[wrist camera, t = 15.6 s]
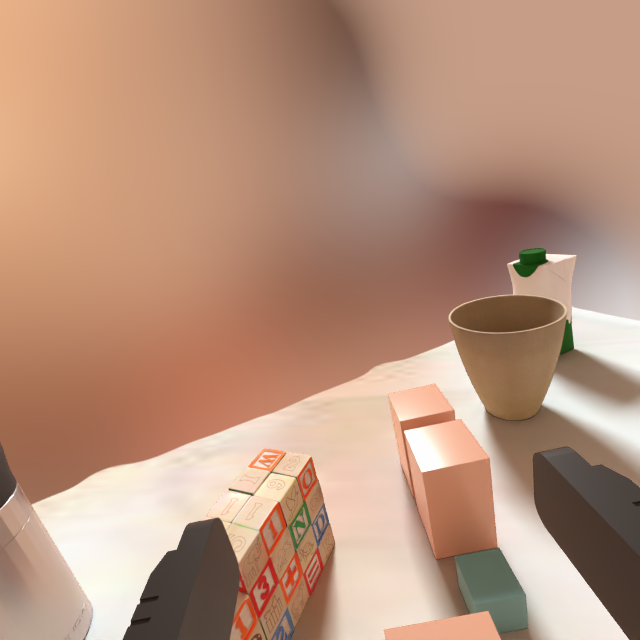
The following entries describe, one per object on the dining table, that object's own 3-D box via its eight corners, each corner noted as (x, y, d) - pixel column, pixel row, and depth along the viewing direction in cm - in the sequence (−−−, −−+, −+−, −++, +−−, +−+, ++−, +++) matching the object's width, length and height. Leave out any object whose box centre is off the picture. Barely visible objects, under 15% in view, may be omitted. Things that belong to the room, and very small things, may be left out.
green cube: (479, 637, 29) (474, 604, 28) (459, 587, 33) (454, 556, 31) (527, 628, 29) (525, 594, 27) (501, 579, 32) (499, 547, 31)
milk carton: (507, 350, 71) (501, 253, 65) (539, 336, 74) (536, 241, 68) (548, 364, 63) (546, 255, 57) (583, 348, 66) (584, 242, 60)
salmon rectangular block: (436, 559, 35) (421, 471, 32) (417, 509, 41) (404, 430, 38) (497, 547, 35) (489, 458, 32) (470, 498, 41) (460, 419, 38)
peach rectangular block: (413, 497, 43) (399, 421, 40) (400, 462, 49) (387, 393, 46) (463, 486, 43) (454, 409, 39) (444, 453, 49) (434, 383, 45)
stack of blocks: (201, 842, 22) (127, 730, 18) (139, 783, 25) (64, 676, 22) (336, 541, 40) (311, 453, 36) (290, 528, 43) (263, 445, 39)
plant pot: (478, 376, 65) (470, 294, 60) (576, 392, 55) (577, 294, 50) (443, 421, 55) (430, 327, 50) (555, 451, 45) (553, 336, 40)
